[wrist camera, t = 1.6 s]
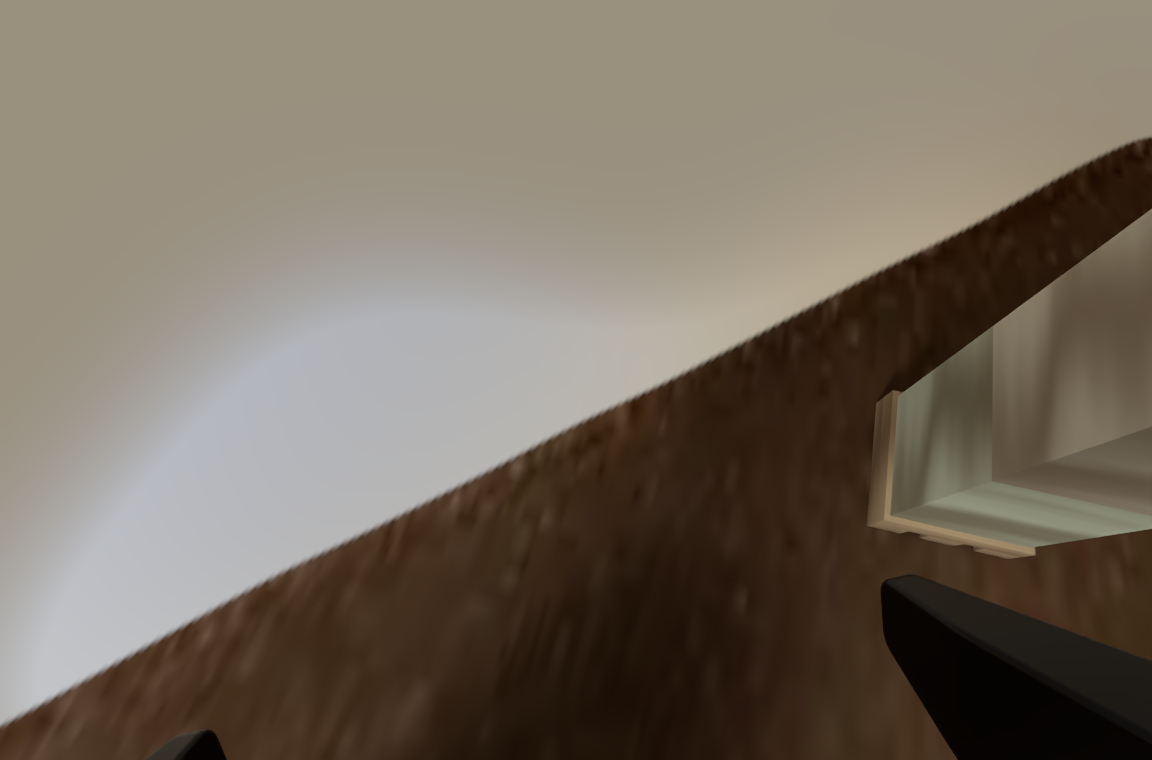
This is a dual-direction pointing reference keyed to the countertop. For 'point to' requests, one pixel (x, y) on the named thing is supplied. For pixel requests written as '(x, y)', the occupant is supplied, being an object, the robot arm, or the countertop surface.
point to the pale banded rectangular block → (1032, 419)
